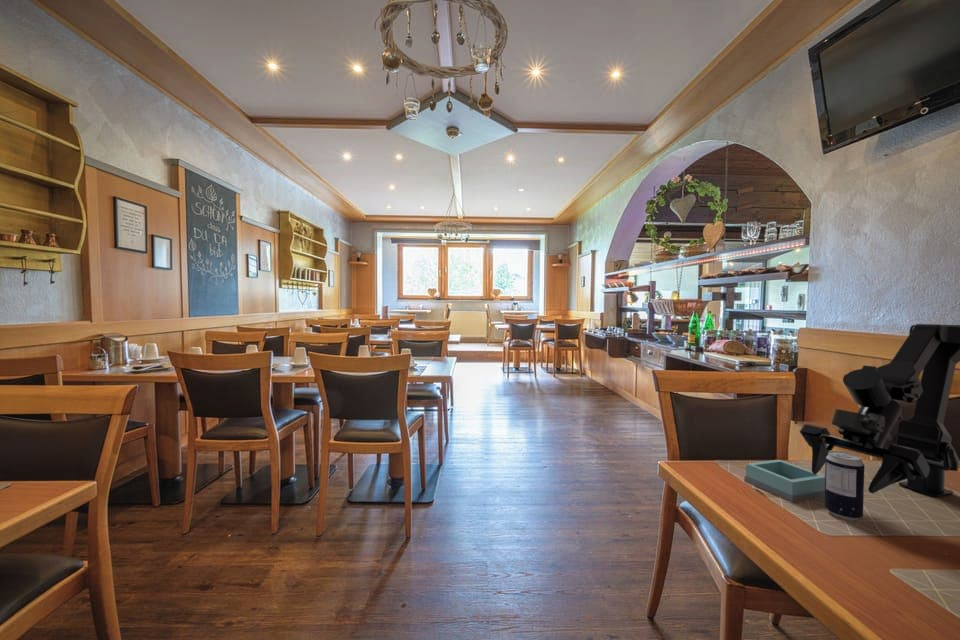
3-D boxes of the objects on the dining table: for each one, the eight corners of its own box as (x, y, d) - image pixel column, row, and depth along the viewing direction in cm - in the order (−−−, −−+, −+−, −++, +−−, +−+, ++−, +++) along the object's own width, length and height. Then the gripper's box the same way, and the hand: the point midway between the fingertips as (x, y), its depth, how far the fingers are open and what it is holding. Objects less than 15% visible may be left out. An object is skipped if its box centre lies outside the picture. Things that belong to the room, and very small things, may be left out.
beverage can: (870, 524, 75) (872, 461, 75) (836, 520, 76) (838, 459, 76) (849, 509, 80) (851, 451, 80) (817, 506, 82) (819, 449, 81)
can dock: (778, 476, 97) (779, 459, 97) (829, 496, 86) (829, 477, 86) (744, 480, 94) (744, 463, 94) (792, 502, 83) (792, 482, 83)
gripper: (806, 387, 88) (772, 441, 84) (924, 406, 71) (888, 475, 67) (826, 419, 91) (794, 473, 87) (944, 445, 74) (911, 513, 70)
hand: (840, 481), depth 78 cm, fingers open, 9 cm apart
